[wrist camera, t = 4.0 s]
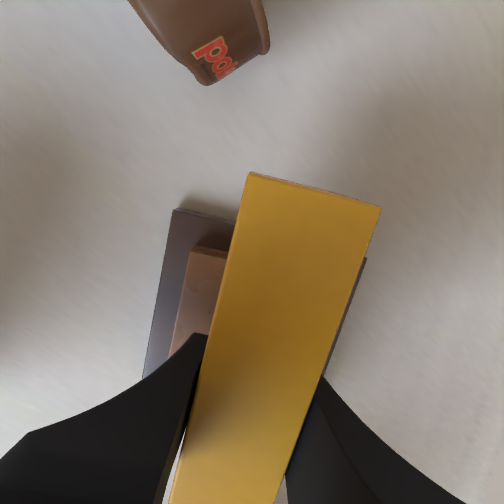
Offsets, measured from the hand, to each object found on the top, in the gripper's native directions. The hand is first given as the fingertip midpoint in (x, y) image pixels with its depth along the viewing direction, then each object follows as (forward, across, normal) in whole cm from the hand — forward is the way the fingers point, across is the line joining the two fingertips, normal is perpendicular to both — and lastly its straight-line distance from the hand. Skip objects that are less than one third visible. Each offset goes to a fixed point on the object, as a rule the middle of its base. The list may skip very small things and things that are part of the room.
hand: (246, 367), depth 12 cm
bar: (0, 0, 0) cm, 0 cm away
